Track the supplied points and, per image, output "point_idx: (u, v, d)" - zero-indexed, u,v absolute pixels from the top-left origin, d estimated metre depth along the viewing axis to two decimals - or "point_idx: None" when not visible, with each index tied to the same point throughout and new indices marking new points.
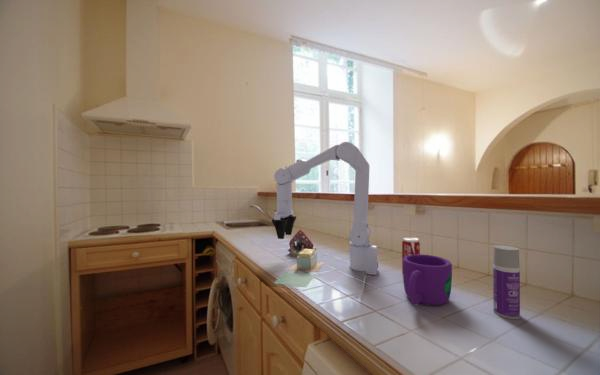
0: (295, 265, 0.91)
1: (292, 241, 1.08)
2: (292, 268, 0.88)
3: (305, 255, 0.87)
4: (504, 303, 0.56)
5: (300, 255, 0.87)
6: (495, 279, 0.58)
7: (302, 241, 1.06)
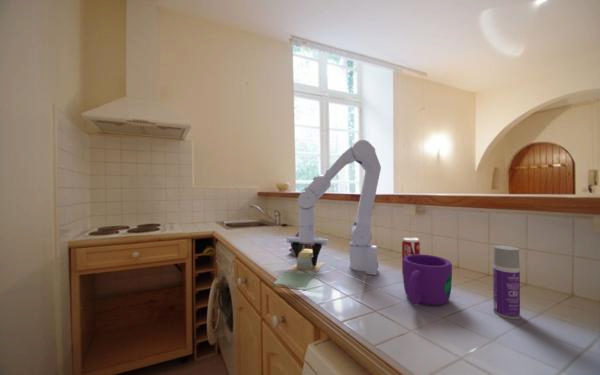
0: (295, 265, 0.91)
1: None
2: (292, 268, 0.88)
3: (305, 255, 0.87)
4: (504, 303, 0.56)
5: (300, 255, 0.87)
6: (495, 279, 0.58)
7: None
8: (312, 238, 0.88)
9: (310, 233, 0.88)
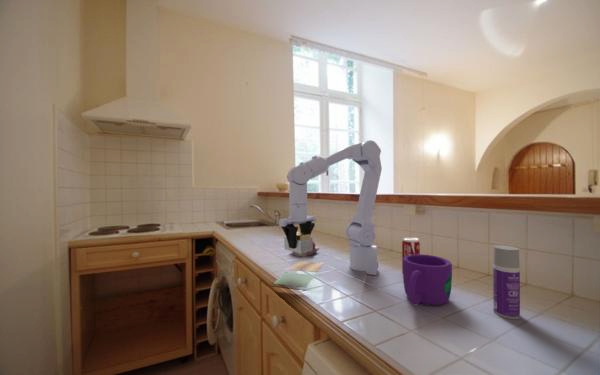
0: (295, 265, 0.91)
1: None
2: (292, 268, 0.88)
3: (306, 236, 0.80)
4: (504, 303, 0.56)
5: (302, 237, 0.79)
6: (495, 279, 0.58)
7: None
8: None
9: None
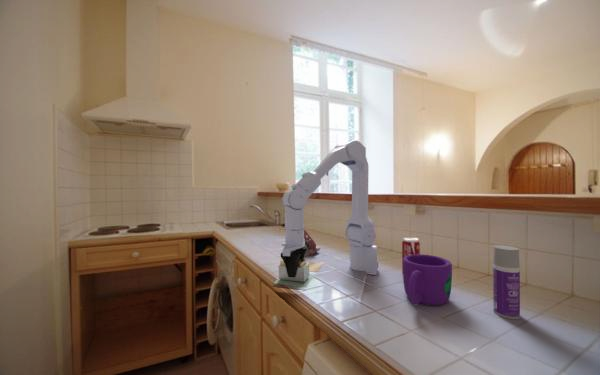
0: None
1: None
2: None
3: (304, 262, 0.77)
4: (504, 303, 0.56)
5: (302, 264, 0.76)
6: (495, 279, 0.58)
7: (305, 240, 1.07)
8: None
9: None
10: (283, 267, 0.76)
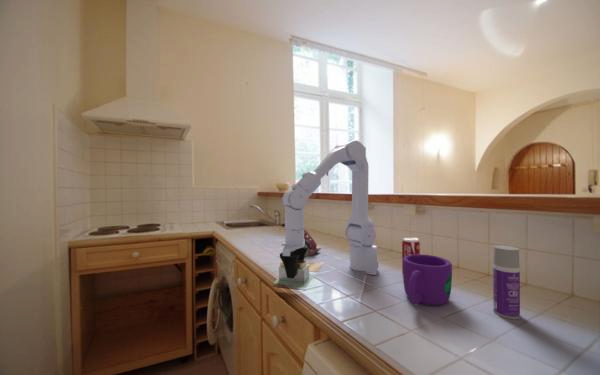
0: None
1: None
2: None
3: (304, 263, 0.78)
4: (504, 303, 0.56)
5: (302, 266, 0.76)
6: (495, 279, 0.58)
7: (306, 240, 1.07)
8: None
9: None
10: (283, 268, 0.76)
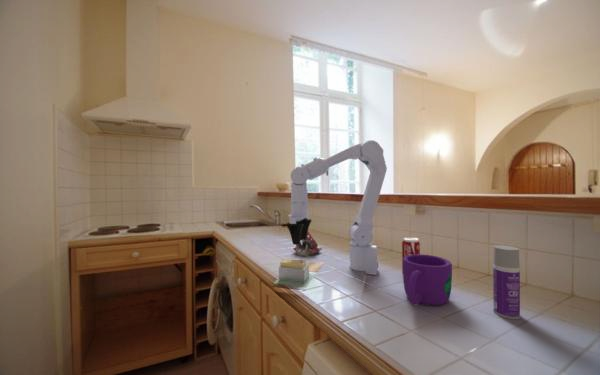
0: None
1: None
2: None
3: (304, 263, 0.78)
4: (504, 303, 0.56)
5: (302, 266, 0.76)
6: (495, 279, 0.58)
7: (307, 240, 1.07)
8: None
9: None
10: (283, 268, 0.76)
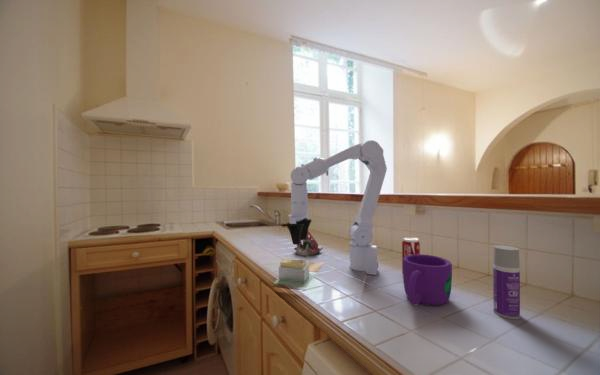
0: None
1: None
2: None
3: (304, 263, 0.78)
4: (504, 303, 0.56)
5: (302, 266, 0.76)
6: (495, 279, 0.58)
7: (308, 240, 1.07)
8: None
9: None
10: (283, 268, 0.76)
